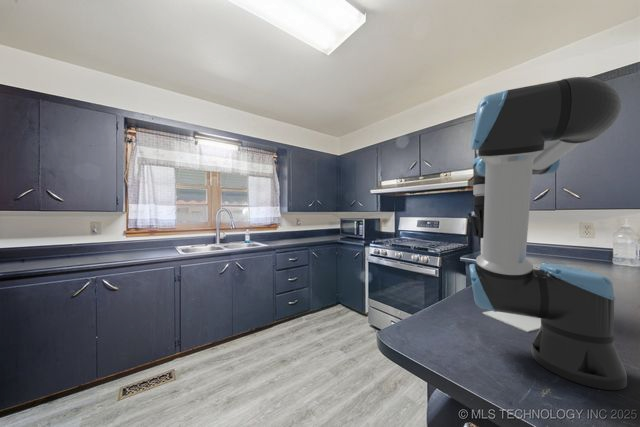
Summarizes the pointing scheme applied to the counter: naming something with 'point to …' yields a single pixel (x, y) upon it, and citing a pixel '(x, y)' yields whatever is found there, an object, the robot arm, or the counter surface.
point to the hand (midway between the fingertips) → (484, 254)
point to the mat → (516, 320)
